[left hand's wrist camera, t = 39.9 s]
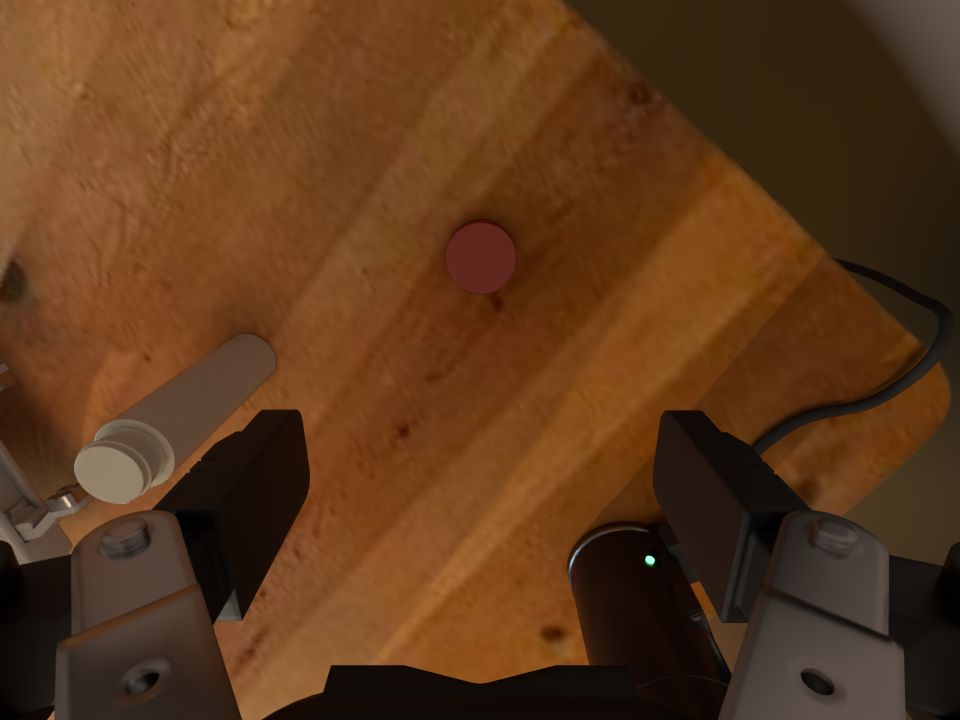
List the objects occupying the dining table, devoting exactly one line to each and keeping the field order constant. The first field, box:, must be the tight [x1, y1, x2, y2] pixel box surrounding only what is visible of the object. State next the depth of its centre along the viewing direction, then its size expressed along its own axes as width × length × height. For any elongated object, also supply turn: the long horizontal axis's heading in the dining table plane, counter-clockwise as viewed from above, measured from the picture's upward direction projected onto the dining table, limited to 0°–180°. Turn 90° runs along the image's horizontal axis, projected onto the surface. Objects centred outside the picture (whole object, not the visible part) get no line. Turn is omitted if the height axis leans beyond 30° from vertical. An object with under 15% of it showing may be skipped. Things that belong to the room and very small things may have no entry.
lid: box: [445, 220, 517, 294], centre depth 35 cm, size 5×5×2 cm
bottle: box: [74, 334, 276, 504], centre depth 31 cm, size 4×4×16 cm
